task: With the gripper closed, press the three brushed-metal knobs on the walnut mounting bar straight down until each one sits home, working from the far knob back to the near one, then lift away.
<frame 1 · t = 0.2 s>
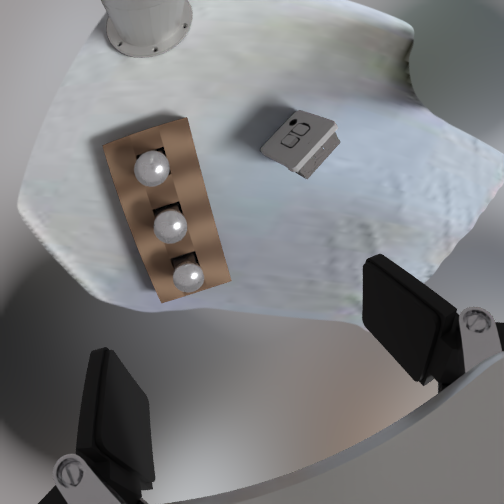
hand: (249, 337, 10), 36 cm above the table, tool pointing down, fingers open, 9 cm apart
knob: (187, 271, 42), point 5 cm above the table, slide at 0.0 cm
knob mount: (169, 211, 43), on the table
electrical switch: (289, 139, 44), on the table
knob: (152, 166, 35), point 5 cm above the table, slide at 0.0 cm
knob mid: (170, 222, 39), point 5 cm above the table, slide at 0.0 cm
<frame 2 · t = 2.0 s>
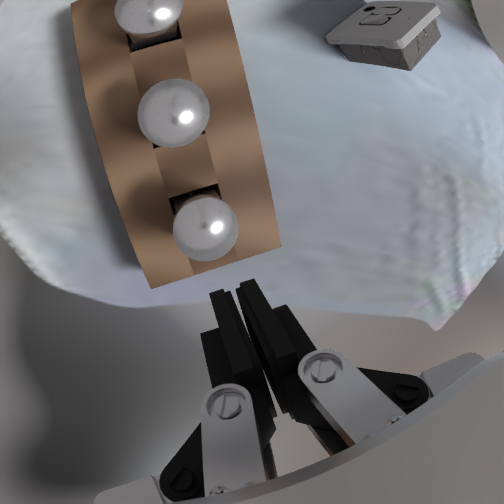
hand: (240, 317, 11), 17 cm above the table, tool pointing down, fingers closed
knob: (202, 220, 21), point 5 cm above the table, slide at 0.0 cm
knob mount: (172, 118, 22), on the table
electrical switch: (361, 36, 23), on the table
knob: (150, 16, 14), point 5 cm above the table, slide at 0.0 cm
knob mid: (173, 114, 18), point 5 cm above the table, slide at 0.0 cm
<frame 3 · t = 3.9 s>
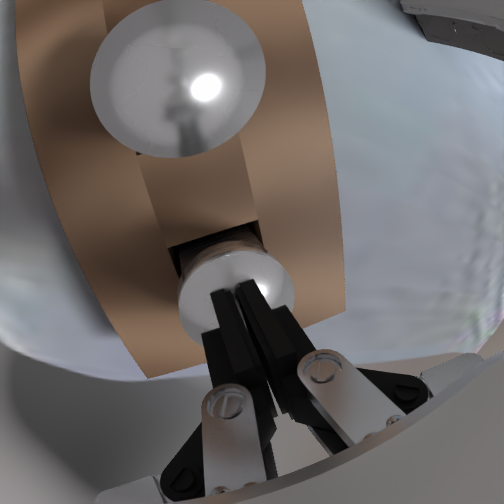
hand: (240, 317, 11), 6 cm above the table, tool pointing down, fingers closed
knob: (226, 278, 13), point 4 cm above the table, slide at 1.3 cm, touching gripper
knob mount: (173, 99, 12), on the table
electrical switch: (436, 12, 13), on the table
knob mid: (175, 84, 8), point 5 cm above the table, slide at 0.0 cm
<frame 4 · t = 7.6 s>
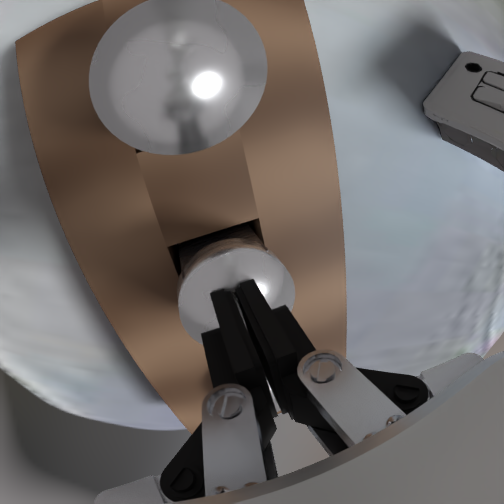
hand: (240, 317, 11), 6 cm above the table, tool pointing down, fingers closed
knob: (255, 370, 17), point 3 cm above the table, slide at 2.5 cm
knob mount: (212, 242, 16), on the table
electrical switch: (455, 100, 16), on the table
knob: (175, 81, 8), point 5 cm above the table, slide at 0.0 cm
knob mid: (226, 277, 13), point 4 cm above the table, slide at 1.4 cm, touching gripper
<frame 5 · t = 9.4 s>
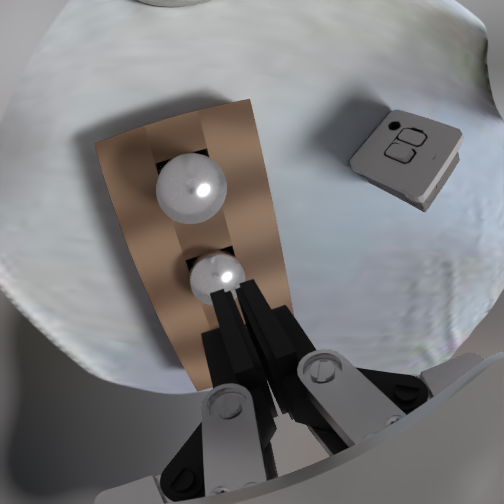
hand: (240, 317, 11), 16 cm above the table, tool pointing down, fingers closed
knob mount: (209, 258, 27), on the table
electrical switch: (382, 150, 28), on the table
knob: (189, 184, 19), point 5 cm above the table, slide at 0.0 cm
knob mid: (213, 269, 25), point 3 cm above the table, slide at 2.6 cm
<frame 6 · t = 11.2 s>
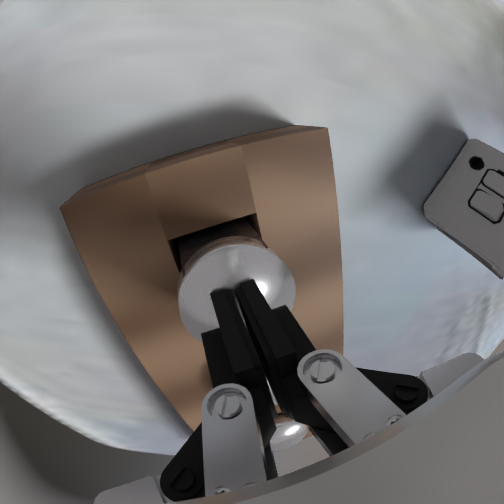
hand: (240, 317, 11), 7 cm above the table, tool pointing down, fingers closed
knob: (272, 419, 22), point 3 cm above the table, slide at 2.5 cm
knob mount: (243, 337, 20), on the table
electrical switch: (454, 188, 21), on the table
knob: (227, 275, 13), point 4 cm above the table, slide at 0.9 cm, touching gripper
knob mid: (253, 364, 18), point 3 cm above the table, slide at 2.6 cm
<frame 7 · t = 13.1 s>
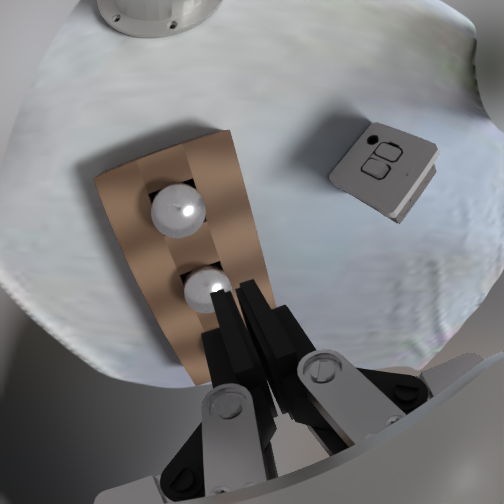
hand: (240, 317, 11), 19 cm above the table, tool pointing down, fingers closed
knob mount: (201, 269, 31), on the table
electrical switch: (362, 162, 31), on the table
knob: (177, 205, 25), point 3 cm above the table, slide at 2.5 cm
knob mid: (205, 281, 28), point 3 cm above the table, slide at 2.6 cm
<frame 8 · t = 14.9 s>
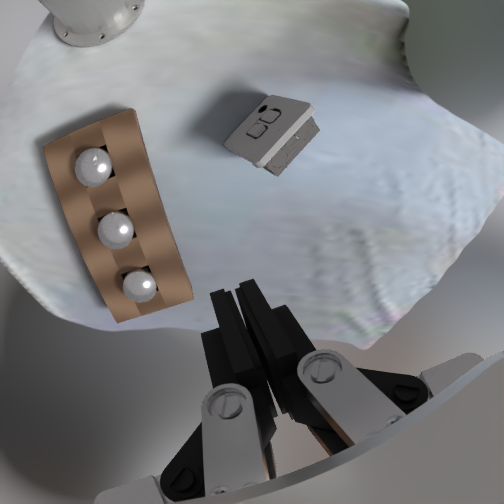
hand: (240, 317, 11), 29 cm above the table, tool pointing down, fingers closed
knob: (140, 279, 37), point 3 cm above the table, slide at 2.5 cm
knob mount: (121, 219, 36), on the table
electrical switch: (260, 130, 36), on the table
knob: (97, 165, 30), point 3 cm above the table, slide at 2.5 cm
knob mid: (118, 225, 33), point 3 cm above the table, slide at 2.6 cm
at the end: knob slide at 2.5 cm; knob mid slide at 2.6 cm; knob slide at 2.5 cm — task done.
